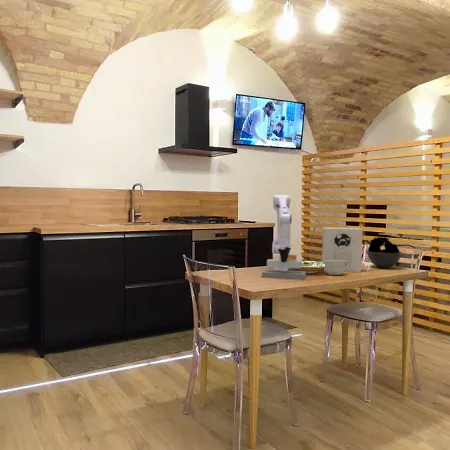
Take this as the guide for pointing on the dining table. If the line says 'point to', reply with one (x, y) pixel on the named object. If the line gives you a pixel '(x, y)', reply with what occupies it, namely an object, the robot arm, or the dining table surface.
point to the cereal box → (343, 247)
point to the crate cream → (276, 257)
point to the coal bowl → (383, 252)
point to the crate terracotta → (291, 257)
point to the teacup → (335, 266)
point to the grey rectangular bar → (284, 264)
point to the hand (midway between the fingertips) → (284, 261)
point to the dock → (284, 274)
